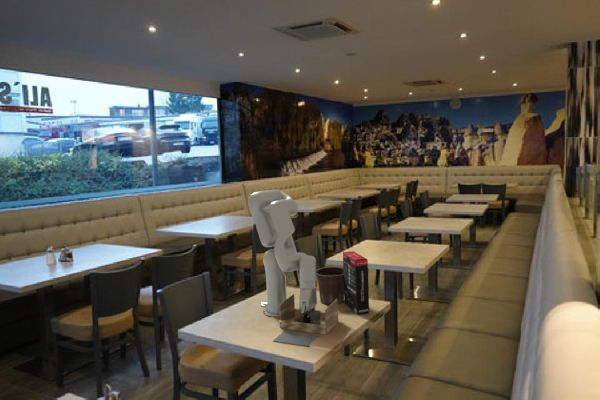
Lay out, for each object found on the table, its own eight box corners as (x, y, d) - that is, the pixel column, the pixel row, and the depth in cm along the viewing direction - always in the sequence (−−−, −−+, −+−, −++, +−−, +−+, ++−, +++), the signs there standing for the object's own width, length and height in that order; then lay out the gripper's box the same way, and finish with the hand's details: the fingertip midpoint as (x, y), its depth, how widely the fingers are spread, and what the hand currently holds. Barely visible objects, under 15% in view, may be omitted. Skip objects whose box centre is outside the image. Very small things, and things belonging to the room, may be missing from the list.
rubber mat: (273, 341, 189) (273, 340, 189) (283, 332, 198) (283, 331, 198) (308, 347, 183) (308, 346, 183) (317, 337, 192) (317, 336, 192)
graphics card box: (370, 314, 216) (369, 257, 212) (356, 316, 214) (355, 259, 211) (355, 302, 232) (354, 250, 229) (343, 304, 230) (341, 251, 227)
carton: (278, 330, 201) (277, 305, 200) (295, 315, 217) (294, 293, 216) (325, 336, 192) (324, 311, 191) (339, 321, 209) (338, 297, 207)
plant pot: (335, 309, 224) (334, 277, 222) (309, 302, 234) (308, 272, 232) (353, 300, 236) (353, 269, 234) (328, 294, 247) (328, 265, 245)
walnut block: (295, 325, 205) (295, 312, 204) (300, 321, 209) (299, 308, 209) (316, 328, 201) (316, 314, 200) (320, 323, 205) (320, 310, 205)
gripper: (307, 277, 212) (309, 315, 214) (292, 288, 196) (294, 329, 198) (322, 279, 209) (324, 317, 211) (308, 290, 193) (310, 331, 195)
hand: (309, 322), depth 205 cm, fingers closed on walnut block, 5 cm apart
